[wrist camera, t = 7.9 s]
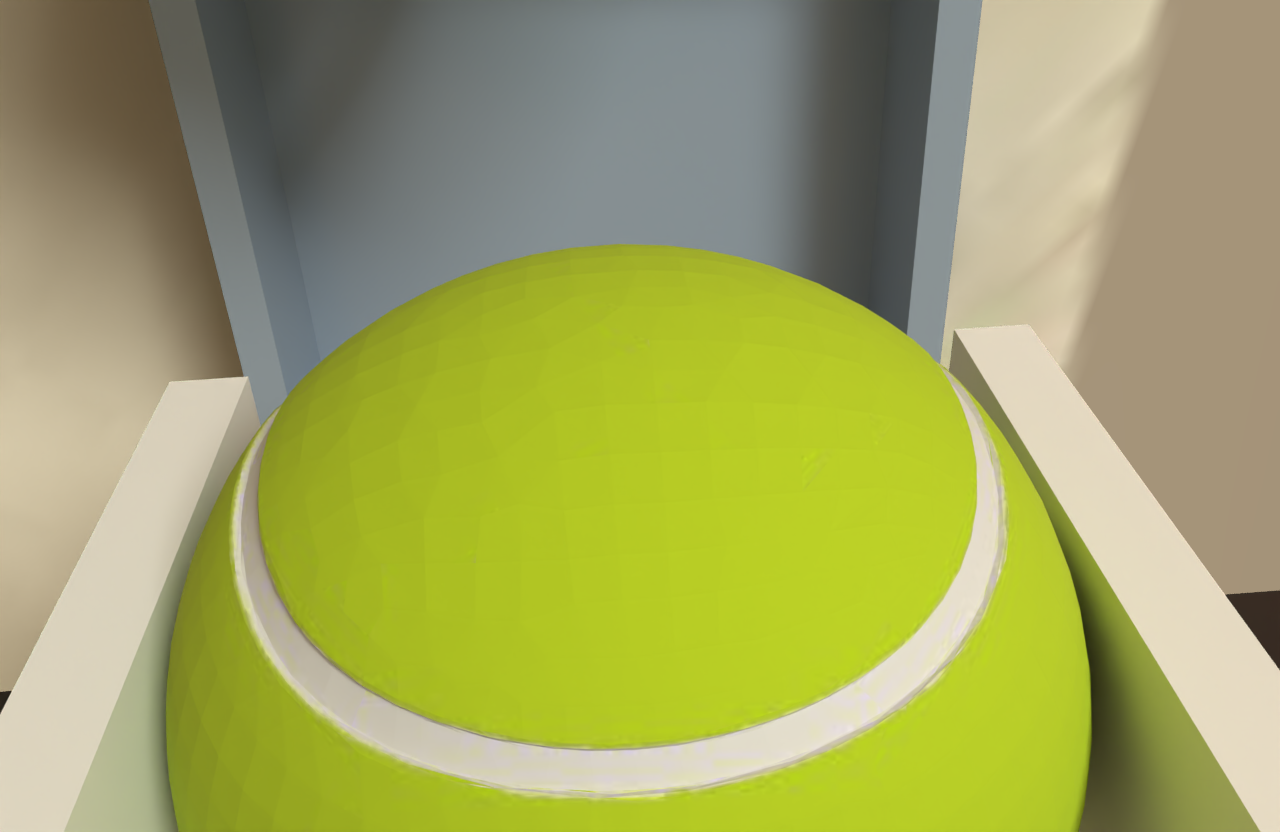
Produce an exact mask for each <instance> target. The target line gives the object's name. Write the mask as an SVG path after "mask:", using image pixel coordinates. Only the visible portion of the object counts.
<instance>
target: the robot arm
mask: <svg viewBox="0 0 1280 832" xmlns="http://www.w3.org/2000/svg"><path fill="white" fill-rule="evenodd" d="M949 372H950V373H951V374H952V375H953V376H955V377H956V378H957V379H958V380H959V381H960V382H961V383H962V385H963V386H964V387H965V388H966V389H967V390H968V391H969V392H970V393H971V395H972V396H973V397H974V398H975V399H976V400H977V401H978V402H979V403H980V405H981V406H982V407H983V409H984V410H985V411H986V413H987V414H988V415H989V416H990V418H991V419H992V420H993V422H994V423H995V424H996V426H997V427H998V428H999V429H1000V431H1001V432H1002V434H1003V435H1004V437H1005V438H1006V440H1007V442H1008V443H1009V445H1010V446H1011V448H1012V449H1013V451H1014V453H1015V454H1016V456H1017V457H1018V459H1019V461H1020V463H1021V464H1022V466H1023V468H1024V469H1025V471H1026V473H1027V475H1028V476H1029V478H1030V480H1031V482H1032V483H1033V485H1034V487H1035V489H1036V490H1037V492H1038V494H1039V496H1040V498H1041V499H1042V501H1043V504H1044V506H1045V509H1046V511H1047V513H1048V516H1049V518H1050V521H1051V523H1052V526H1053V528H1054V531H1055V533H1056V536H1057V538H1058V541H1059V544H1060V546H1061V549H1062V552H1063V554H1064V557H1065V559H1066V562H1067V565H1068V567H1069V570H1070V574H1071V577H1072V581H1073V585H1074V588H1075V592H1076V596H1077V599H1078V603H1079V607H1080V612H1081V618H1082V624H1083V630H1084V637H1085V643H1086V649H1087V655H1088V662H1089V668H1090V680H1091V707H1092V743H1091V754H1090V764H1089V775H1088V783H1087V790H1086V798H1085V806H1084V811H1083V815H1082V819H1081V824H1080V828H1079V832H1280V591H1267V592H1254V593H1241V594H1227V595H1225V594H1224V593H1223V591H1222V590H1221V589H1220V587H1219V586H1218V585H1217V583H1216V582H1215V580H1214V579H1213V578H1212V576H1211V575H1210V574H1209V572H1208V571H1207V569H1206V568H1205V567H1204V565H1203V564H1202V562H1201V561H1200V560H1199V558H1198V557H1197V556H1196V554H1195V553H1194V551H1193V550H1192V549H1191V547H1190V546H1189V545H1188V543H1187V542H1186V540H1185V539H1184V538H1183V536H1182V535H1181V534H1180V532H1179V531H1178V530H1177V528H1176V527H1175V525H1174V524H1173V522H1172V521H1171V520H1170V518H1169V517H1168V516H1167V514H1166V513H1165V511H1164V510H1163V509H1162V507H1161V506H1160V505H1159V503H1158V502H1157V500H1156V499H1155V498H1154V496H1153V495H1152V494H1151V492H1150V491H1149V489H1148V488H1147V487H1146V485H1145V484H1144V482H1143V481H1142V480H1141V479H1140V477H1139V476H1138V474H1137V473H1136V471H1135V470H1134V469H1133V467H1132V466H1131V465H1130V463H1129V462H1128V460H1127V459H1126V458H1125V456H1124V455H1123V454H1122V452H1121V451H1120V449H1119V448H1118V447H1117V445H1116V444H1115V443H1114V441H1113V440H1112V438H1111V437H1110V436H1109V434H1108V433H1107V431H1106V430H1105V429H1104V427H1103V426H1102V425H1101V423H1100V422H1099V421H1098V419H1097V418H1096V416H1095V415H1094V414H1093V412H1092V411H1091V409H1090V408H1089V407H1088V406H1087V404H1086V403H1085V401H1084V400H1083V398H1082V397H1081V396H1080V394H1079V393H1078V391H1077V390H1076V389H1075V387H1074V386H1073V385H1072V383H1071V382H1070V380H1069V379H1068V378H1067V376H1066V375H1065V374H1064V372H1063V371H1062V369H1061V368H1060V367H1059V365H1058V364H1057V363H1056V361H1055V360H1054V358H1053V357H1052V356H1051V354H1050V353H1049V352H1048V350H1047V349H1046V347H1045V346H1044V345H1043V343H1042V342H1041V340H1040V339H1039V338H1038V336H1037V335H1036V334H1035V332H1034V331H1033V329H1032V328H1031V327H1030V325H1029V324H1026V325H1011V326H996V327H981V328H966V329H954V335H953V343H952V351H951V360H950V368H949ZM260 427H261V426H260V422H259V418H258V414H257V410H256V406H255V402H254V398H253V394H252V390H251V386H250V382H249V378H248V376H247V377H232V378H218V379H203V380H188V381H173V382H169V384H168V386H167V388H166V390H165V392H164V394H163V396H162V398H161V400H160V402H159V404H158V406H157V407H156V409H155V411H154V413H153V415H152V417H151V419H150V421H149V423H148V425H147V427H146V429H145V431H144V433H143V435H142V437H141V439H140V441H139V443H138V445H137V447H136V449H135V451H134V453H133V455H132V457H131V459H130V460H129V462H128V464H127V466H126V468H125V470H124V472H123V474H122V476H121V478H120V480H119V482H118V484H117V486H116V488H115V490H114V492H113V494H112V496H111V498H110V500H109V502H108V504H107V506H106V508H105V510H104V512H103V513H102V515H101V517H100V519H99V521H98V523H97V525H96V527H95V529H94V531H93V533H92V535H91V537H90V539H89V541H88V543H87V545H86V547H85V549H84V551H83V553H82V555H81V557H80V559H79V561H78V563H77V564H76V566H75V568H74V570H73V572H72V574H71V576H70V578H69V580H68V582H67V584H66V586H65V588H64V590H63V592H62V594H61V596H60V598H59V600H58V602H57V604H56V606H55V608H54V610H53V612H52V614H51V616H50V617H49V619H48V621H47V623H46V625H45V627H44V629H43V631H42V633H41V635H40V637H39V639H38V641H37V643H36V645H35V647H34V649H33V651H32V653H31V655H30V657H29V659H28V661H27V663H26V665H25V667H24V668H23V670H22V672H21V674H20V676H19V678H18V680H17V682H16V684H15V686H14V688H13V690H12V691H6V692H0V832H179V830H178V825H177V821H176V816H175V810H174V804H173V799H172V793H171V787H170V781H169V772H168V759H167V740H166V694H167V677H168V668H169V659H170V649H171V641H172V636H173V631H174V627H175V622H176V617H177V612H178V607H179V603H180V599H181V595H182V592H183V588H184V585H185V581H186V578H187V574H188V570H189V567H190V564H191V561H192V558H193V555H194V552H195V549H196V547H197V544H198V541H199V538H200V536H201V534H202V531H203V529H204V527H205V525H206V522H207V520H208V518H209V516H210V513H211V511H212V509H213V507H214V504H215V502H216V500H217V498H218V496H219V494H220V492H221V490H222V488H223V486H224V484H225V482H226V480H227V478H228V476H229V475H230V473H231V471H232V470H233V468H234V466H235V465H236V463H237V461H238V460H239V458H240V456H241V455H242V453H243V452H244V450H245V449H246V447H247V446H248V444H249V442H250V441H251V439H252V438H253V437H254V435H255V434H256V432H257V431H258V430H259V428H260Z"/></svg>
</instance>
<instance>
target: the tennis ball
mask: <svg viewBox="0 0 1280 832" xmlns="http://www.w3.org/2000/svg"><path fill="white" fill-rule="evenodd" d="M166 740H167V759H168V772H169V781H170V787H171V793H172V799H173V804H174V810H175V816H176V821H177V825H178V830H179V832H1079V828H1080V824H1081V819H1082V815H1083V811H1084V806H1085V798H1086V790H1087V783H1088V775H1089V764H1090V754H1091V743H1092V707H1091V680H1090V668H1089V662H1088V655H1087V649H1086V643H1085V637H1084V630H1083V624H1082V618H1081V612H1080V607H1079V603H1078V599H1077V596H1076V592H1075V588H1074V585H1073V581H1072V577H1071V574H1070V570H1069V567H1068V565H1067V562H1066V559H1065V557H1064V554H1063V552H1062V549H1061V546H1060V544H1059V541H1058V538H1057V536H1056V533H1055V531H1054V528H1053V526H1052V523H1051V521H1050V518H1049V516H1048V513H1047V511H1046V509H1045V506H1044V504H1043V501H1042V499H1041V498H1040V496H1039V494H1038V492H1037V490H1036V489H1035V487H1034V485H1033V483H1032V482H1031V480H1030V478H1029V476H1028V475H1027V473H1026V471H1025V469H1024V468H1023V466H1022V464H1021V463H1020V461H1019V459H1018V457H1017V456H1016V454H1015V453H1014V451H1013V449H1012V448H1011V446H1010V445H1009V443H1008V442H1007V440H1006V438H1005V437H1004V435H1003V434H1002V432H1001V431H1000V429H999V428H998V427H997V426H996V424H995V423H994V422H993V420H992V419H991V418H990V416H989V415H988V414H987V413H986V411H985V410H984V409H983V407H982V406H981V405H980V403H979V402H978V401H977V400H976V399H975V398H974V397H973V396H972V395H971V393H970V392H969V391H968V390H967V389H966V388H965V387H964V386H963V385H962V383H961V382H960V381H959V380H958V379H957V378H956V377H955V376H953V375H952V374H951V373H950V372H949V371H948V370H947V369H946V368H945V367H943V366H942V365H941V364H939V363H938V362H936V361H935V360H934V359H933V358H932V357H931V356H930V354H929V353H928V352H927V351H925V350H924V349H923V348H922V347H921V346H920V345H919V344H918V343H917V342H915V341H914V340H913V339H912V338H910V337H909V336H907V335H906V334H905V333H903V332H902V331H901V330H899V329H898V328H896V327H895V326H894V325H892V324H891V323H889V322H888V321H886V320H885V319H883V318H881V317H880V316H878V315H877V314H875V313H874V312H872V311H870V310H869V309H867V308H866V307H864V306H862V305H860V304H858V303H856V302H854V301H852V300H850V299H848V298H846V297H844V296H842V295H840V294H838V293H836V292H834V291H832V290H830V289H828V288H826V287H824V286H822V285H820V284H818V283H816V282H813V281H810V280H808V279H805V278H802V277H800V276H797V275H794V274H792V273H789V272H786V271H783V270H781V269H778V268H775V267H773V266H770V265H766V264H763V263H759V262H756V261H752V260H748V259H745V258H741V257H738V256H733V255H728V254H723V253H718V252H713V251H708V250H702V249H694V248H685V247H677V246H669V245H640V244H611V245H599V246H586V247H574V248H567V249H561V250H555V251H549V252H543V253H537V254H532V255H528V256H524V257H520V258H517V259H513V260H509V261H505V262H501V263H497V264H494V265H491V266H488V267H485V268H483V269H480V270H477V271H474V272H471V273H468V274H465V275H462V276H460V277H458V278H455V279H453V280H451V281H448V282H446V283H444V284H441V285H439V286H437V287H434V288H432V289H430V290H428V291H426V292H425V293H423V294H421V295H419V296H417V297H415V298H413V299H411V300H409V301H407V302H406V303H404V304H402V305H400V306H398V307H396V308H394V309H393V310H391V311H389V312H388V313H386V314H385V315H383V316H382V317H380V318H379V319H377V320H376V321H374V322H373V323H371V324H370V325H368V326H367V327H366V328H364V329H363V330H361V331H360V332H358V333H357V334H355V335H354V336H352V337H351V338H349V339H348V340H346V341H345V342H344V343H343V344H341V345H340V346H339V347H338V348H336V349H335V350H334V351H333V352H332V353H330V354H329V355H328V356H327V357H326V358H324V359H323V360H322V361H321V362H320V363H319V364H318V365H317V366H315V367H314V368H313V369H312V370H311V371H310V372H309V373H308V374H307V375H306V376H305V377H304V378H303V379H302V380H301V381H300V382H299V383H298V384H297V385H296V386H295V387H294V388H293V389H292V391H291V392H290V393H289V395H288V396H287V398H286V399H285V401H284V402H283V404H282V405H280V406H279V407H278V408H277V409H275V410H274V411H273V412H272V414H271V415H270V416H269V417H268V418H267V419H266V420H265V422H264V423H263V424H262V425H261V427H260V428H259V430H258V431H257V432H256V434H255V435H254V437H253V438H252V439H251V441H250V442H249V444H248V446H247V447H246V449H245V450H244V452H243V453H242V455H241V456H240V458H239V460H238V461H237V463H236V465H235V466H234V468H233V470H232V471H231V473H230V475H229V476H228V478H227V480H226V482H225V484H224V486H223V488H222V490H221V492H220V494H219V496H218V498H217V500H216V502H215V504H214V507H213V509H212V511H211V513H210V516H209V518H208V520H207V522H206V525H205V527H204V529H203V531H202V534H201V536H200V538H199V541H198V544H197V547H196V549H195V552H194V555H193V558H192V561H191V564H190V567H189V570H188V574H187V578H186V581H185V585H184V588H183V592H182V595H181V599H180V603H179V607H178V612H177V617H176V622H175V627H174V631H173V636H172V641H171V649H170V659H169V668H168V677H167V694H166Z"/></svg>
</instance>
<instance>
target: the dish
mask: <svg viewBox="0 0 1280 832" xmlns="http://www.w3.org/2000/svg"><path fill="white" fill-rule="evenodd" d="M148 1H149V5H150V9H151V13H152V17H153V21H154V25H155V29H156V33H157V36H158V40H159V44H160V48H161V52H162V56H163V60H164V64H165V68H166V72H167V76H168V80H169V84H170V88H171V92H172V95H173V99H174V103H175V107H176V111H177V115H178V119H179V123H180V127H181V131H182V135H183V139H184V143H185V147H186V151H187V154H188V158H189V162H190V166H191V170H192V174H193V178H194V182H195V186H196V190H197V194H198V198H199V202H200V206H201V210H202V213H203V217H204V221H205V225H206V229H207V233H208V237H209V241H210V245H211V249H212V253H213V257H214V261H215V265H216V269H217V272H218V276H219V280H220V284H221V288H222V292H223V296H224V300H225V304H226V308H227V312H228V316H229V320H230V324H231V328H232V331H233V335H234V339H235V343H236V347H237V351H238V355H239V359H240V363H241V367H242V371H243V375H244V377H247V376H248V378H249V382H250V386H251V390H252V394H253V398H254V402H255V406H256V410H257V414H258V418H259V422H260V426H261V425H262V424H263V423H264V422H265V420H266V419H267V418H268V417H269V416H270V415H271V414H272V412H273V411H274V410H275V409H277V408H278V407H279V406H280V405H282V404H283V402H284V401H285V399H286V398H287V396H288V395H289V393H290V392H291V391H292V389H293V388H294V387H295V386H296V385H297V384H298V383H299V382H300V381H301V380H302V379H303V378H304V377H305V376H306V375H307V374H308V373H309V372H310V371H311V370H312V369H313V368H314V367H315V366H317V365H318V364H319V363H320V362H321V361H322V360H323V359H324V358H326V357H327V356H328V355H329V354H330V353H332V352H333V351H334V350H335V349H336V348H338V347H339V346H340V345H341V344H343V343H344V342H345V341H346V340H348V339H349V338H351V337H352V336H354V335H355V334H357V333H358V332H360V331H361V330H363V329H364V328H366V327H367V326H368V325H370V324H371V323H373V322H374V321H376V320H377V319H379V318H380V317H382V316H383V315H385V314H386V313H388V312H389V311H391V310H393V309H394V308H396V307H398V306H400V305H402V304H404V303H406V302H407V301H409V300H411V299H413V298H415V297H417V296H419V295H421V294H423V293H425V292H426V291H428V290H430V289H432V288H434V287H437V286H439V285H441V284H444V283H446V282H448V281H451V280H453V279H455V278H458V277H460V276H462V275H465V274H468V273H471V272H474V271H477V270H480V269H483V268H485V267H488V266H491V265H494V264H497V263H501V262H505V261H509V260H513V259H517V258H520V257H524V256H528V255H532V254H537V253H543V252H549V251H555V250H561V249H567V248H574V247H586V246H599V245H611V244H640V245H669V246H677V247H685V248H694V249H702V250H708V251H713V252H718V253H723V254H728V255H733V256H738V257H741V258H745V259H748V260H752V261H756V262H759V263H763V264H766V265H770V266H773V267H775V268H778V269H781V270H783V271H786V272H789V273H792V274H794V275H797V276H800V277H802V278H805V279H808V280H810V281H813V282H816V283H818V284H820V285H822V286H824V287H826V288H828V289H830V290H832V291H834V292H836V293H838V294H840V295H842V296H844V297H846V298H848V299H850V300H852V301H854V302H856V303H858V304H860V305H862V306H864V307H866V308H867V309H869V310H870V311H872V312H874V313H875V314H877V315H878V316H880V317H881V318H883V319H885V320H886V321H888V322H889V323H891V324H892V325H894V326H895V327H896V328H898V329H899V330H901V331H902V332H903V333H905V334H906V335H907V336H909V337H910V338H912V339H913V340H914V341H915V342H917V343H918V344H919V345H920V346H921V347H922V348H923V349H924V350H925V351H927V352H928V353H929V354H930V356H931V357H932V358H933V359H934V360H935V361H936V362H938V363H939V364H940V359H941V351H942V342H943V334H944V325H945V317H946V308H947V299H948V291H949V282H950V274H951V265H952V256H953V248H954V239H955V231H956V222H957V214H958V205H959V196H960V188H961V179H962V171H963V162H964V153H965V145H966V136H967V128H968V119H969V111H970V102H971V93H972V85H973V76H974V68H975V59H976V50H977V42H978V33H979V25H980V16H981V8H982V0H148Z"/></svg>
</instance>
